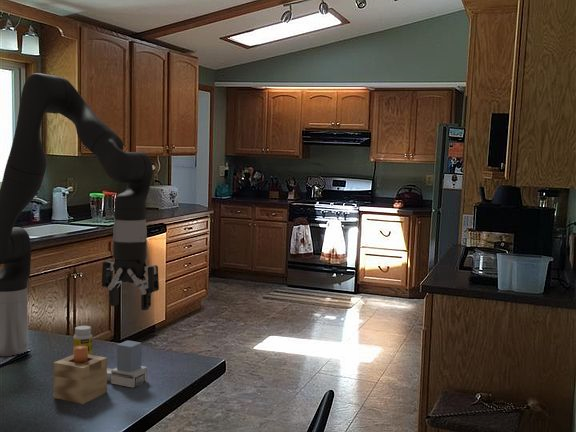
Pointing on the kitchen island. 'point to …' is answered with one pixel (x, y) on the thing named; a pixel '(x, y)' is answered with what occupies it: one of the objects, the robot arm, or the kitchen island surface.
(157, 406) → the kitchen island surface
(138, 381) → the rail
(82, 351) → the brown egg
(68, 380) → the open wooden box
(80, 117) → the robot arm
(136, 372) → the carriage
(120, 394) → the kitchen island surface
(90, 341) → the supplement bottle
